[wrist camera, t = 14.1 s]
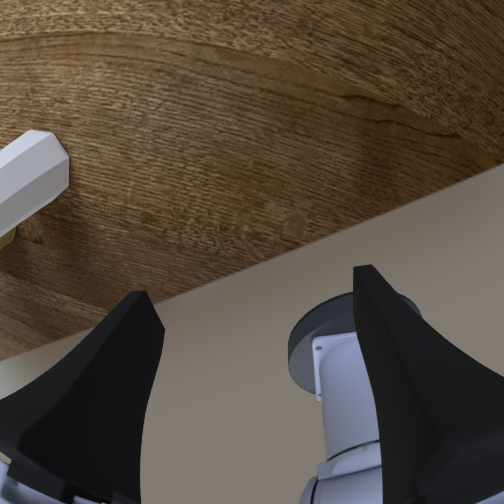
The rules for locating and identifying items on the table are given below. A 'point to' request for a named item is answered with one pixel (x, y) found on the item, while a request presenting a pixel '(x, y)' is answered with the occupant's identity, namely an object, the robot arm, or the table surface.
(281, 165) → the table surface
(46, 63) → the table surface
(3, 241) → the vase
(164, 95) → the table surface
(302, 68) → the table surface
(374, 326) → the robot arm
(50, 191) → the pepper shaker
